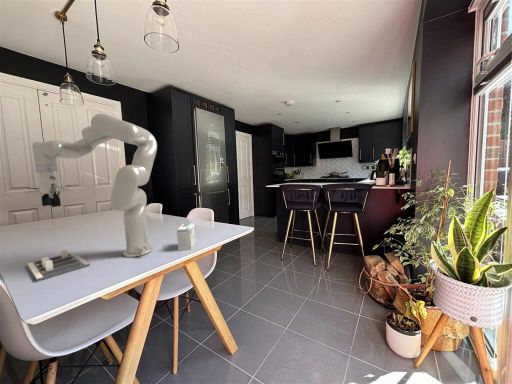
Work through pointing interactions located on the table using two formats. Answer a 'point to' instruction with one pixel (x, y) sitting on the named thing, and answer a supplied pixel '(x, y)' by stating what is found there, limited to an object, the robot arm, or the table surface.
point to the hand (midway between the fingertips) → (51, 206)
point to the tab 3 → (64, 253)
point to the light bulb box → (186, 236)
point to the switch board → (57, 266)
